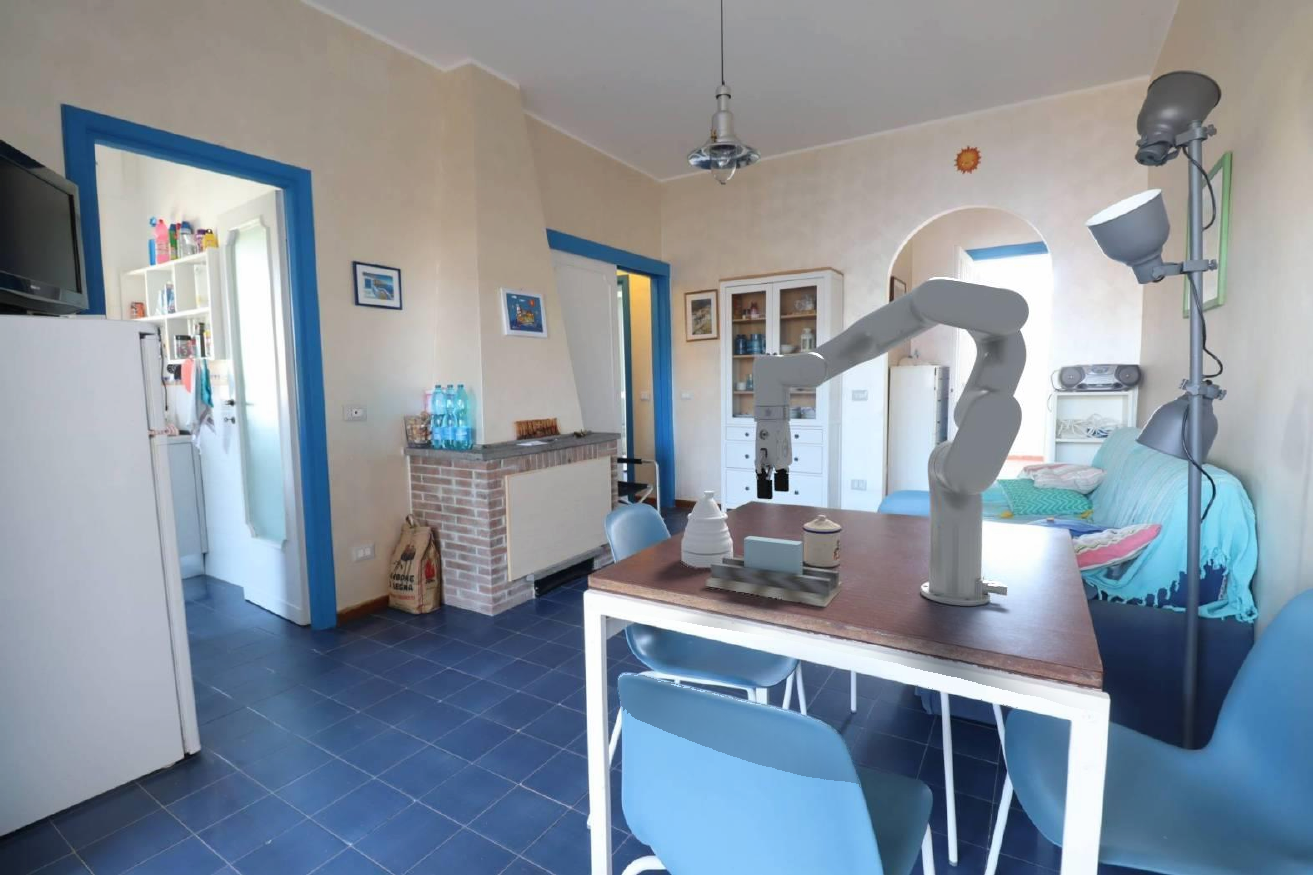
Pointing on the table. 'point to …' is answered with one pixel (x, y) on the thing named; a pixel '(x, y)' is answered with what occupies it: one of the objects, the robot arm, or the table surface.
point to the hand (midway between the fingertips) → (773, 494)
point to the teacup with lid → (822, 543)
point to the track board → (776, 582)
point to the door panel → (773, 554)
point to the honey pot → (706, 534)
